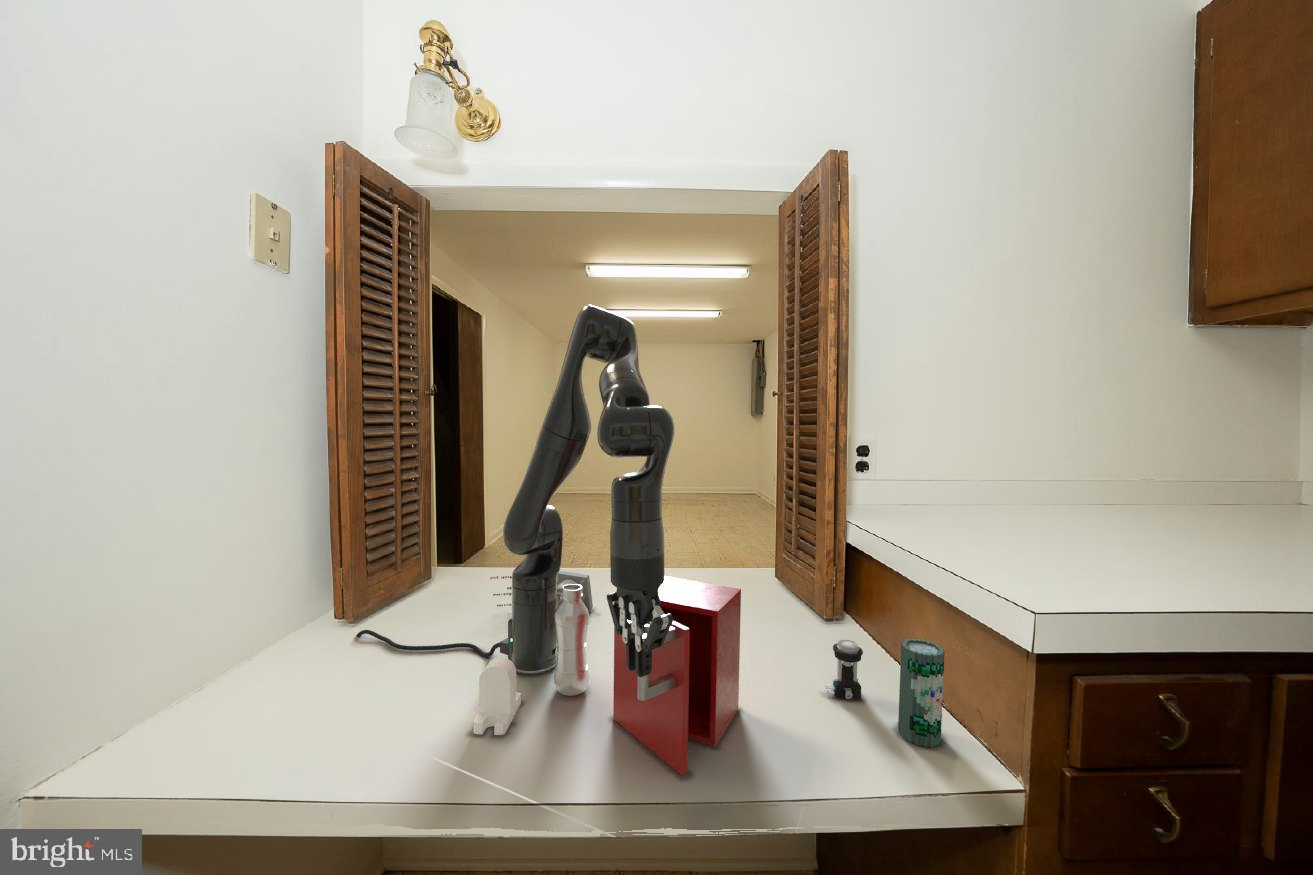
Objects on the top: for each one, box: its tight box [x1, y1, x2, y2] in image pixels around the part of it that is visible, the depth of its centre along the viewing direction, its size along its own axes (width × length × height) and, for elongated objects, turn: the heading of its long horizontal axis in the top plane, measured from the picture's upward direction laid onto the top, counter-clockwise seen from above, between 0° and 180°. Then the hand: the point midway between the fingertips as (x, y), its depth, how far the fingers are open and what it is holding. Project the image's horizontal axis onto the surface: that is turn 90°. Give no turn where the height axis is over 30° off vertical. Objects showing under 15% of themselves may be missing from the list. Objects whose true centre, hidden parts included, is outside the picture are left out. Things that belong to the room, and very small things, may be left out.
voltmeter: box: [489, 570, 594, 612], centre depth 138 cm, size 27×11×10 cm, turn 103°
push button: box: [824, 639, 864, 700], centre depth 100 cm, size 7×5×10 cm
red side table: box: [612, 607, 690, 776], centre depth 82 cm, size 7×18×22 cm, turn 39°
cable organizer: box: [473, 656, 522, 736], centre depth 91 cm, size 5×10×10 cm, turn 178°
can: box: [897, 638, 946, 748], centre depth 88 cm, size 6×6×15 cm
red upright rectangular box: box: [658, 575, 742, 747], centre depth 93 cm, size 12×18×22 cm, turn 63°
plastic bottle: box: [553, 584, 590, 697], centre depth 100 cm, size 6×7×20 cm
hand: (638, 670), depth 74 cm, fingers closed on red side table, 2 cm apart
